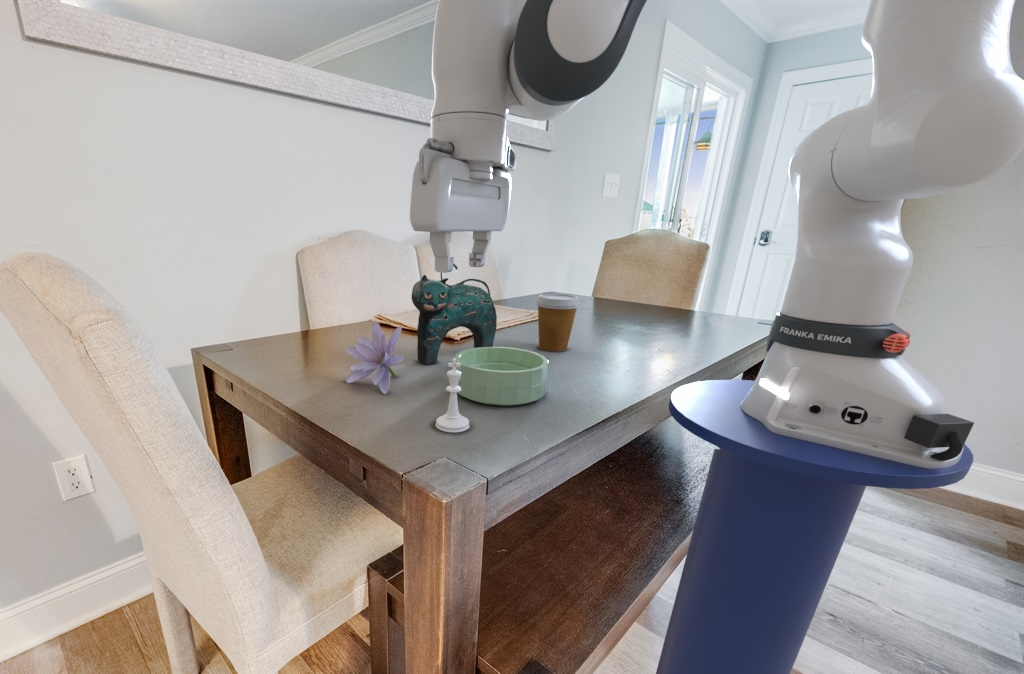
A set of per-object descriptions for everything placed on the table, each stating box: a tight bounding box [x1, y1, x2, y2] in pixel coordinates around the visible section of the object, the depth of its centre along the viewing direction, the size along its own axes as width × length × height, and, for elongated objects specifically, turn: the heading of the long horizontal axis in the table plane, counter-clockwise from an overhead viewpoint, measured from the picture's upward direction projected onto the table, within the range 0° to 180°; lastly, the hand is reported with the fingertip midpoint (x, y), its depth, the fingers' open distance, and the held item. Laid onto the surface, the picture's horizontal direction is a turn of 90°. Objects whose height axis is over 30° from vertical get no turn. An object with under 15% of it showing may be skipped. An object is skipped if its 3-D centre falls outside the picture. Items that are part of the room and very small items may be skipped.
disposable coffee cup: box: [535, 293, 581, 352], centre depth 106 cm, size 10×10×12 cm
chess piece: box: [435, 358, 470, 434], centre depth 65 cm, size 5×5×10 cm
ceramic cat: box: [411, 262, 498, 366], centre depth 97 cm, size 20×6×20 cm, turn 119°
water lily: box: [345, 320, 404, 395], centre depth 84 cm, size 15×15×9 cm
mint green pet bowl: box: [454, 346, 549, 407], centre depth 79 cm, size 16×16×6 cm
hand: (461, 269), depth 60 cm, fingers open, 8 cm apart
